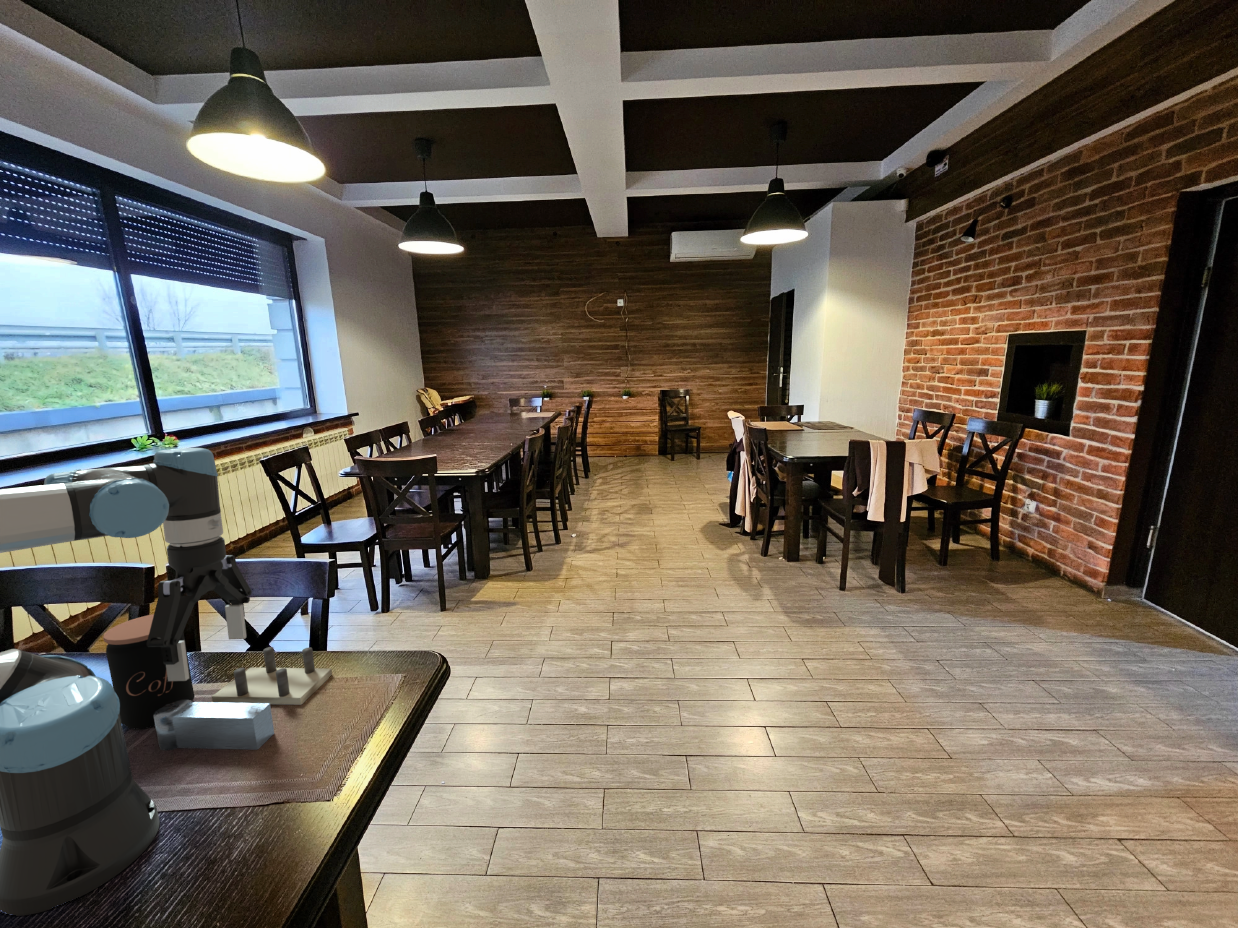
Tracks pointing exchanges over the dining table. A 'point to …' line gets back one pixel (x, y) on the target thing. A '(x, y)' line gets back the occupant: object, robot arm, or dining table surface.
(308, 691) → the peg rack
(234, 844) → the dining table surface
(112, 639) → the coffee jar
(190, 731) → the bevelled metal block
